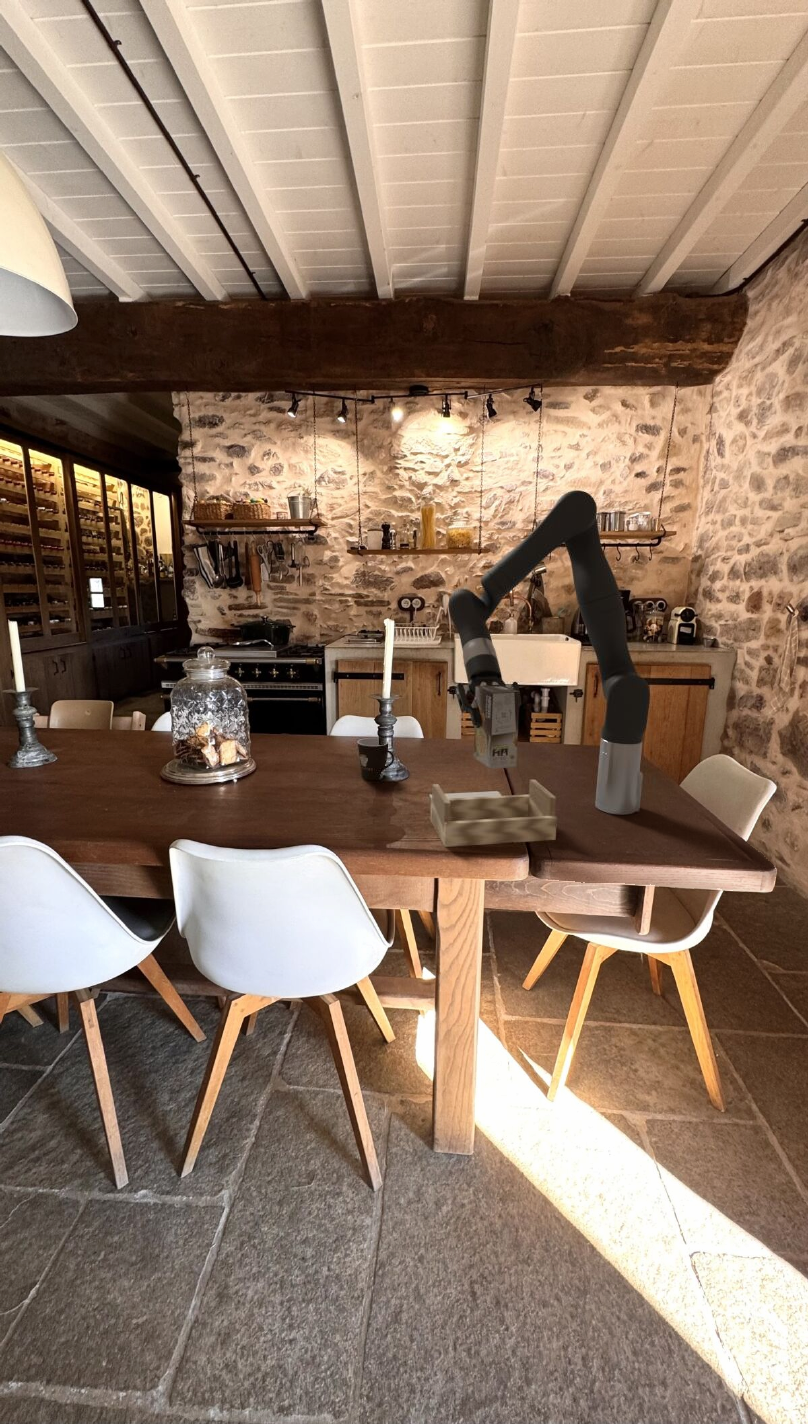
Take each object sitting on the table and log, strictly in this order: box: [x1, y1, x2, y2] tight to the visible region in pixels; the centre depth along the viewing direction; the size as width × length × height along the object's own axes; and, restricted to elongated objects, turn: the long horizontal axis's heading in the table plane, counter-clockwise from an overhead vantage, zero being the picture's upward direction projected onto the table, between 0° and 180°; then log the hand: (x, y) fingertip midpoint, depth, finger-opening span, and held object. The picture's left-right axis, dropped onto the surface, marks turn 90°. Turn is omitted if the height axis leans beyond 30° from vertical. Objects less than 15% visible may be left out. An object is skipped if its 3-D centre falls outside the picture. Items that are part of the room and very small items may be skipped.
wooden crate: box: [430, 779, 558, 848], centre depth 127 cm, size 24×14×9 cm, turn 100°
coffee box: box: [473, 685, 521, 770], centre depth 123 cm, size 9×6×16 cm
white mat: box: [429, 790, 503, 800], centre depth 144 cm, size 18×12×1 cm, turn 100°
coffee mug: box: [357, 737, 395, 781], centre depth 160 cm, size 12×9×10 cm
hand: (495, 725), depth 123 cm, fingers closed on coffee box, 7 cm apart
